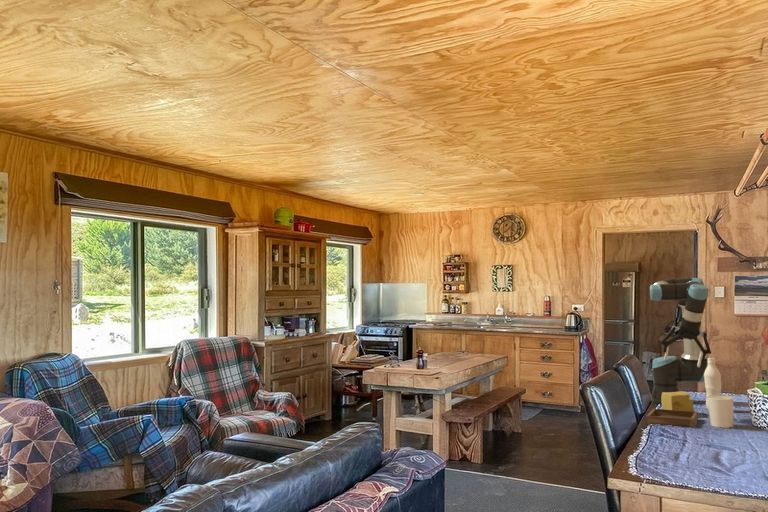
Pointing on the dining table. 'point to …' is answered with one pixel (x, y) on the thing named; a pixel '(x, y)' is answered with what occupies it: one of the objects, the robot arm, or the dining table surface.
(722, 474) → the dining table surface
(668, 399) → the cheese
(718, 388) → the water bottle
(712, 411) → the cream cup
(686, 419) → the walnut crate
